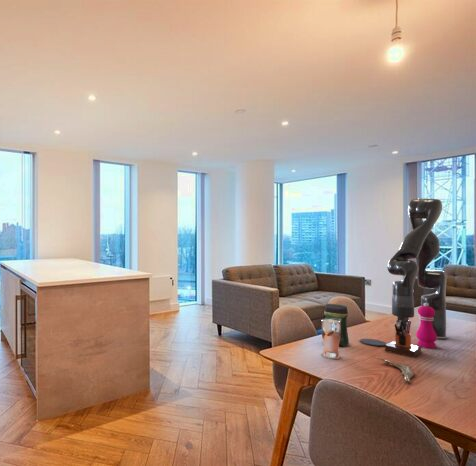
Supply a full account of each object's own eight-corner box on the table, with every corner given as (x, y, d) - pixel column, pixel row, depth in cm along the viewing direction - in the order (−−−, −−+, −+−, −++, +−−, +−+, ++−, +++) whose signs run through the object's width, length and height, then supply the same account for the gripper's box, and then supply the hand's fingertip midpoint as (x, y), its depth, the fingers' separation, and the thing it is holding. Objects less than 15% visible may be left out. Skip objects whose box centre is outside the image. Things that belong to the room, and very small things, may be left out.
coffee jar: (349, 343, 157) (349, 304, 157) (347, 348, 151) (347, 307, 151) (326, 339, 164) (326, 301, 164) (322, 343, 158) (322, 304, 158)
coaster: (365, 338, 165) (365, 337, 165) (389, 343, 157) (389, 342, 157) (356, 342, 159) (356, 341, 159) (382, 348, 151) (382, 346, 151)
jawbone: (401, 365, 132) (402, 360, 132) (438, 389, 112) (438, 383, 112) (376, 361, 134) (376, 356, 134) (407, 384, 114) (407, 378, 114)
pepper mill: (441, 349, 150) (440, 304, 150) (422, 348, 151) (422, 303, 151) (430, 344, 157) (429, 301, 157) (412, 343, 158) (412, 300, 159)
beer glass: (338, 354, 143) (338, 319, 143) (343, 360, 136) (342, 323, 137) (319, 352, 145) (319, 318, 145) (323, 358, 139) (323, 322, 139)
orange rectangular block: (396, 349, 149) (396, 331, 149) (411, 352, 145) (410, 334, 145) (395, 350, 148) (395, 332, 148) (409, 353, 144) (409, 335, 144)
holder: (392, 346, 154) (392, 340, 154) (421, 352, 146) (421, 346, 146) (385, 350, 148) (385, 345, 148) (414, 357, 140) (414, 351, 140)
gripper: (408, 308, 140) (409, 350, 140) (418, 304, 148) (418, 343, 148) (387, 305, 146) (387, 345, 146) (397, 301, 154) (397, 339, 154)
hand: (403, 344), depth 147 cm, fingers closed on orange rectangular block, 1 cm apart
